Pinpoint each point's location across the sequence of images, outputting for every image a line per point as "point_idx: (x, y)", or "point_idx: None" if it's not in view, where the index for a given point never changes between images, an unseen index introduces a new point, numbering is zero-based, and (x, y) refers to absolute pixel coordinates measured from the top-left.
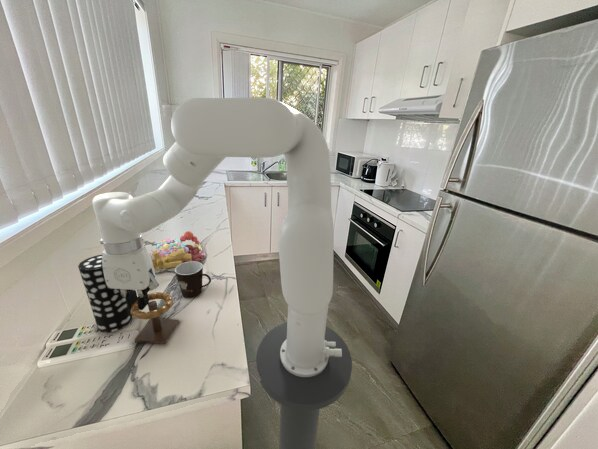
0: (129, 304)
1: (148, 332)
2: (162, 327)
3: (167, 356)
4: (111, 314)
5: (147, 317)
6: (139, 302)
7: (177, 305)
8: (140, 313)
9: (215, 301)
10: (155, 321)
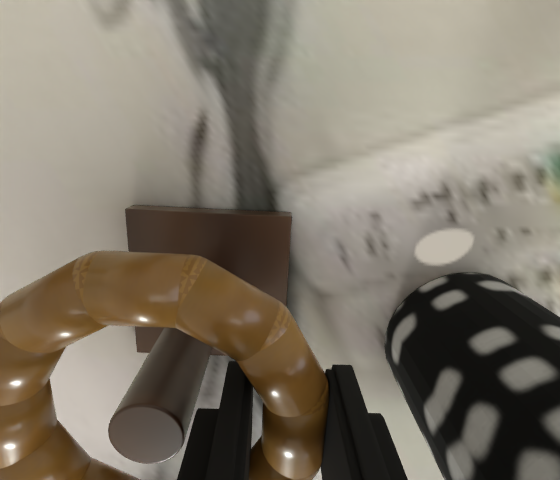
0: (342, 408)
1: (245, 267)
2: None
3: (74, 130)
4: (485, 344)
5: (80, 260)
6: (216, 432)
7: None
8: (148, 293)
9: None
10: None
